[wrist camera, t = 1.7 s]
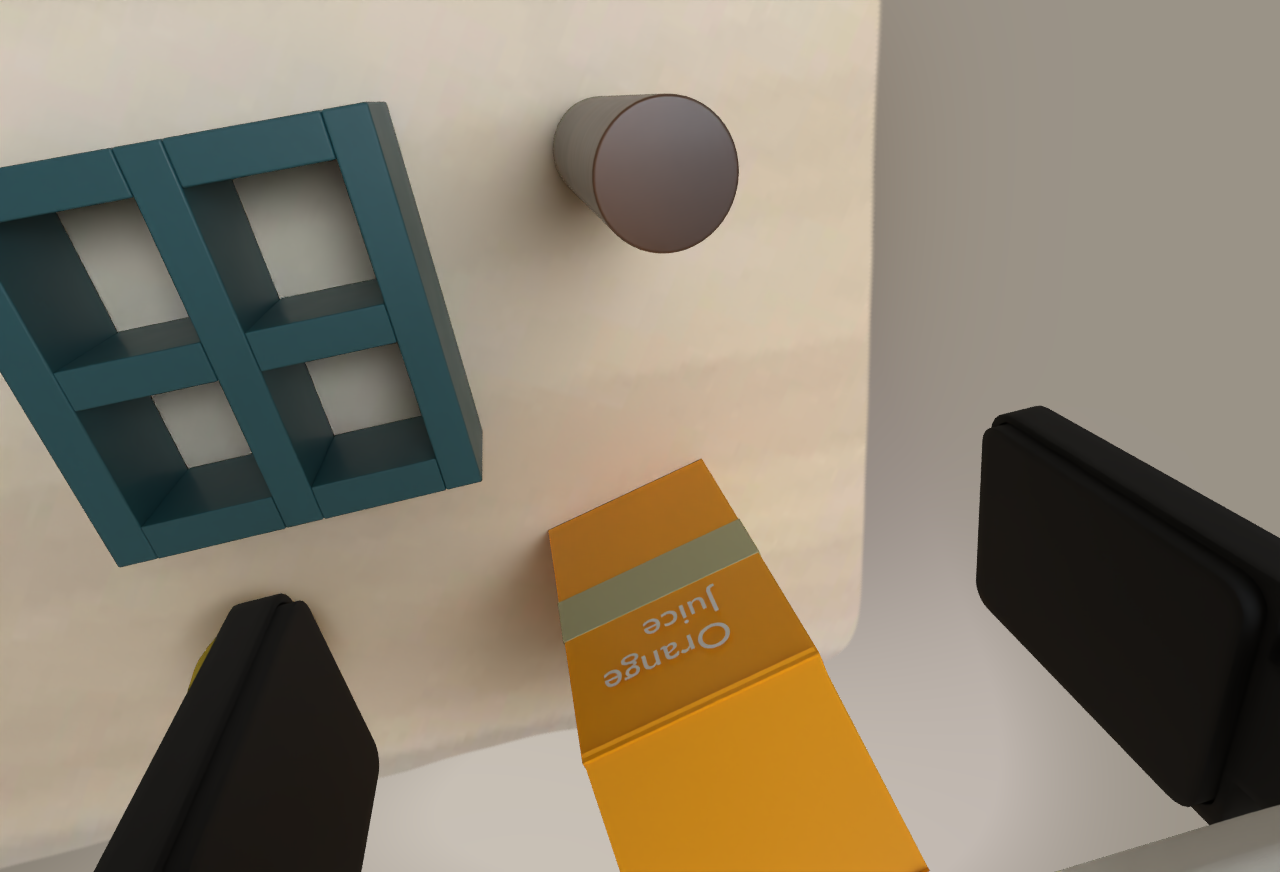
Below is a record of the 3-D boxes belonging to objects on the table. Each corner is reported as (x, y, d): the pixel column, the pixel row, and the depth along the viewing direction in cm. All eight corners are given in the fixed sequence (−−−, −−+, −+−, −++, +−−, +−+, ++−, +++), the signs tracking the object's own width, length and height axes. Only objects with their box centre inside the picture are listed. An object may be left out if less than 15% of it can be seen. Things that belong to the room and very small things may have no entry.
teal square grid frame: (168, 504, 32) (118, 568, 28) (-11, 173, 26) (-113, 188, 22) (483, 431, 34) (482, 482, 29) (386, 101, 27) (367, 101, 23)
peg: (564, 209, 30) (607, 267, 20) (543, 106, 29) (578, 109, 18) (655, 190, 31) (746, 237, 20) (640, 88, 29) (731, 80, 18)
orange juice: (545, 529, 37) (603, 932, 19) (702, 455, 37) (907, 790, 19) (606, 633, 40) (702, 1054, 22) (749, 566, 40) (959, 935, 22)
